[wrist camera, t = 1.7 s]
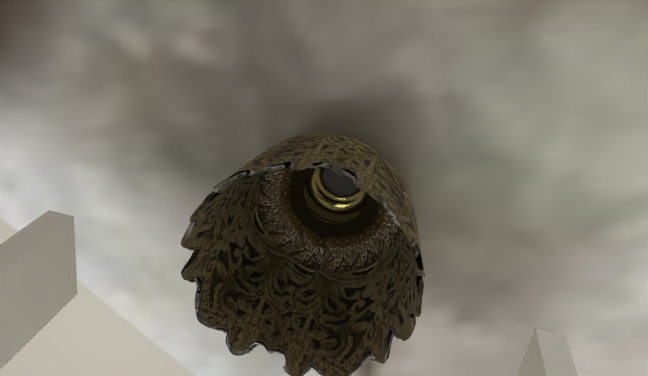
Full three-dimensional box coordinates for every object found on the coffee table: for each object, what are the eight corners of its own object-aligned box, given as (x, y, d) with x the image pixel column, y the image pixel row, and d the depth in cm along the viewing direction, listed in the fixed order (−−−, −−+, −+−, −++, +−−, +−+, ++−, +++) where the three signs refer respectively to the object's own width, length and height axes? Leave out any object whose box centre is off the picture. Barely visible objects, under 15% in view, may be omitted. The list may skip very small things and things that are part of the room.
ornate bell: (463, 137, 22) (472, 237, 15) (388, 278, 25) (366, 415, 18) (288, 62, 22) (213, 126, 15) (236, 212, 25) (155, 323, 18)
